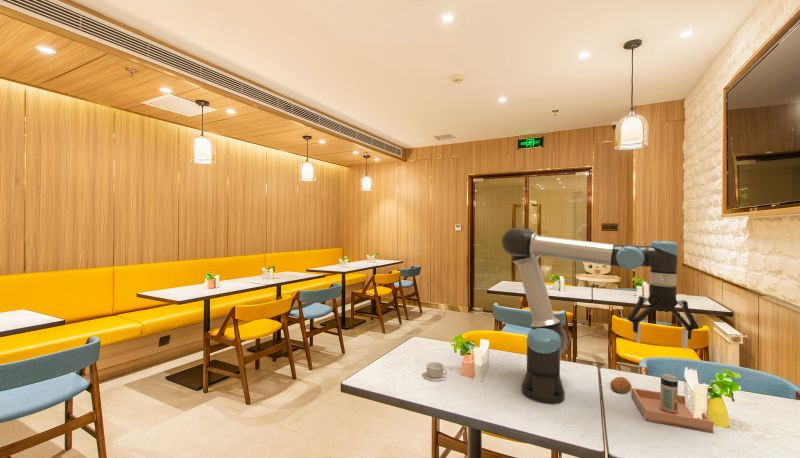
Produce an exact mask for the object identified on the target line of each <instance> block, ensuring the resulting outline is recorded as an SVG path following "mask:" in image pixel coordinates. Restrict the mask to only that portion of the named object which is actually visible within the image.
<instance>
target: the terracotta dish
mask: <svg viewBox="0 0 800 458" xmlns="http://www.w3.org/2000/svg"><path fill="white" fill-rule="evenodd" d="M630 390H631V391H630V393H631V394H630V395H631V396H630V398H631V397H632V398H631V399H632V401H633V402H635V403H634V404H635V406H636V407H637V410H638V411H639V412H640V414H641V415H642V418H643V419H644V421H645V422H648V423H649V422H650V423H655V424H660V425H665V426H672V427H675V428H683V429H688V430H693V431H699V432H703V433H704V432H705V433H711V434H713V433H714V421H713V420H712V419H711V418H710V417H709V416H708V414H706V413H705V412H704V413H702V419H700V418H694V417H693V415H692V413H691V412H690V411H689V409H688V408H687V407H686V405H685V396H686V395H680V394H678V396H677V412H676V413H668V412H665V411H663V410H662V409H661V408H660V392H661V391H655V390H648V389H641V388H635V387H631V388H630Z"/></svg>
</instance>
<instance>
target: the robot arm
mask: <svg viewBox="0 0 800 458" xmlns="http://www.w3.org/2000/svg"><path fill="white" fill-rule="evenodd" d="M501 237H502V238H501V246H502V249H503V250H504V251H505V253H507V254H508V255H510V256H511V261H512V263H514V264H516V265H517V268H518V272H519V274H520V279H521V282H522V285H523V289H524V293H525V297H526V301H527V304H528V307H529V311H530V315H531V318H532V322H531V324H530V327H531V328H530V329H531V330H529V331H528V333H527V335H526V336H527V337H526V372H525V374H524V377H523V380H522V383H521V394H523V395H524V396H525V397H526V398H527V399H529V400H532V401H535V402H537V403H543V404H550V405H551V404H552V405H553V404H560V403H563V402H564V400H566V399H565V396H566V395H565V394H566V392H565V388H564V386H563V383H562V378H561V356H562V355H563V353H564V351H565V350H566V348H567V346H568V336H567V333H566V332H565V330H564V329H563V327H562V324H561V321H560V319H559V318H557V317H556V316H555V314H554V310H553V307H552V304H551V300H550V297H549V294H548V290H547V286H546V284H545V280H544V277H543V273H542V269H541V266H540V263H539V259H540V258H541V257H545V258H546V257H548V258H555V259H561V260H562V259H563V260H568V261H575V262H576V261H577V262H582V263H590V264H597V265H603V266H610V267H618V268H622V269H625V270H631V271H632V270H636V269H638V268H639V267H645V268H647V267H648V268H650V273H649V274H650V275H649V283H651V284H649V294H648V295H649V296H648V297H644V296H641V295H639V296H638V299H637V302H636V304H635V305H634V306H633V309H632V310H631V312H629V314H628V315H627V317H626V319H627V320H628V321H629V322H631V323H632V332H633V333H635V342H636V343H637V344H641V332H642V330H641V327H642V325H641V324H640V323H641V322H642V321H643V320H644V319H645V318H646V317H648V316H649V315H650V314H651V313H653V312H655V311H656V312H663V313H664V312H665V313H669V312H671V314H672V315H674V317H675V318H676V319H677V320H678V321H679V322H680V323H681V325H682V326H683V327H682V328H681V331H682V333H681V347H682V348H683V349H684V350H688V344H689V343H688V340H691V339H692V331H694V330H699V327H700V326H699V325H698V323H697V321H696V319H695V318H694V316H693V314H692V312H691V310H690V309H689V303H688V301H687V300H684V299H681V300H677V287H676V285H677V284H678V283H677V281H678V280H677V277H678V261H679V254H678V249H679V248H678V243H676V242H675V241H667V240H666V241H665V240H663V241H661V240H652V241H651V244H650V245H646V246H645V245H631V244H630V245H629V244H613V243H605V242H596V241H587V240H581V239H580V240H578V239H571V238H570V239H569V238H563V237H562V238H561V237H553V236H543V235H538V234H537V232H534V231H533V230H531V229H529V228H525V227H513V228H509V229H507V231H505V232H504V234H503V235H502V236H501ZM646 302H648V306H647V307H646V308H645V309H644V310H643V311H642V312H640V311H641V309H642V307H643V306H644V304H646ZM676 306H679V307H680V308H681V309H682V311H683V313H684V314H685V316H686V318H687V320H688V321H687V320H685V318H684V317H682V315H681V314H680V313H679V312H678V311H677V309H676V308H675V307H676ZM639 312H640V313H639ZM638 313H639V314H638ZM637 314H638V315H637ZM688 322H689V323H688Z"/></svg>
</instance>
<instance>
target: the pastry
mask: <svg viewBox="0 0 800 458" xmlns="http://www.w3.org/2000/svg"><path fill="white" fill-rule="evenodd" d="M610 387H611V391H613V392H616V393H620V394H625V393H629V391H630V390H631V388H633V386H632V384H631V382H630V381H629V379H627V378H625V377H623V376H619V377H618V376H616V377H614V379H612V380H611V382H610ZM624 392H625V393H624Z"/></svg>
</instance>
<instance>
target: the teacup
mask: <svg viewBox="0 0 800 458" xmlns="http://www.w3.org/2000/svg"><path fill="white" fill-rule="evenodd" d="M425 366H426V371H425V372H424V373H422V377H423V378H424V379H426V380H428V381H433V382H439V381H444V380H446V379H447V376H448V375H447V372H448V371H447V369H446V368H445V366H444V364H442V363H441V362H436V361H433V362H432V361H431V362H428V363H426V365H425ZM444 371H445V372H444Z"/></svg>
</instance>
